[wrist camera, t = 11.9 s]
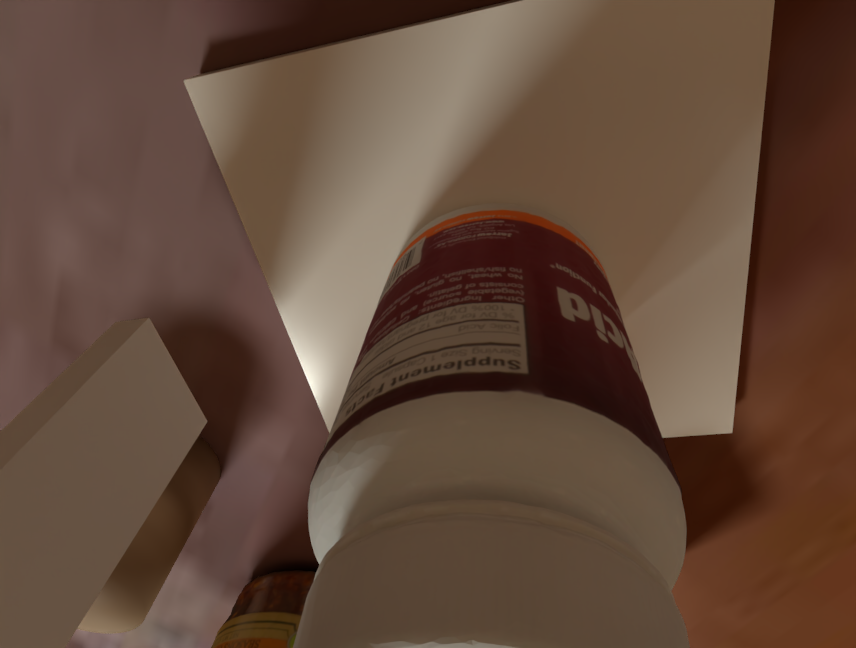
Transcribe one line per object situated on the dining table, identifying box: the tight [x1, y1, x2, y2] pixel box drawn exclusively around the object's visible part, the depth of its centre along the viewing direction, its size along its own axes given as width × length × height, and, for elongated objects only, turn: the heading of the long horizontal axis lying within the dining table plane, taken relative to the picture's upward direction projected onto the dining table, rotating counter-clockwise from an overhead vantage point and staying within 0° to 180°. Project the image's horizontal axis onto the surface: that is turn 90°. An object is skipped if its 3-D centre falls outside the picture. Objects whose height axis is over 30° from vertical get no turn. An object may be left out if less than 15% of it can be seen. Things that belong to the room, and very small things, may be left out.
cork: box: [77, 436, 221, 633], centre depth 15 cm, size 4×4×4 cm
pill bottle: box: [293, 203, 690, 648], centre depth 9 cm, size 5×5×8 cm
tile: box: [183, 0, 775, 438], centre depth 12 cm, size 10×10×1 cm
